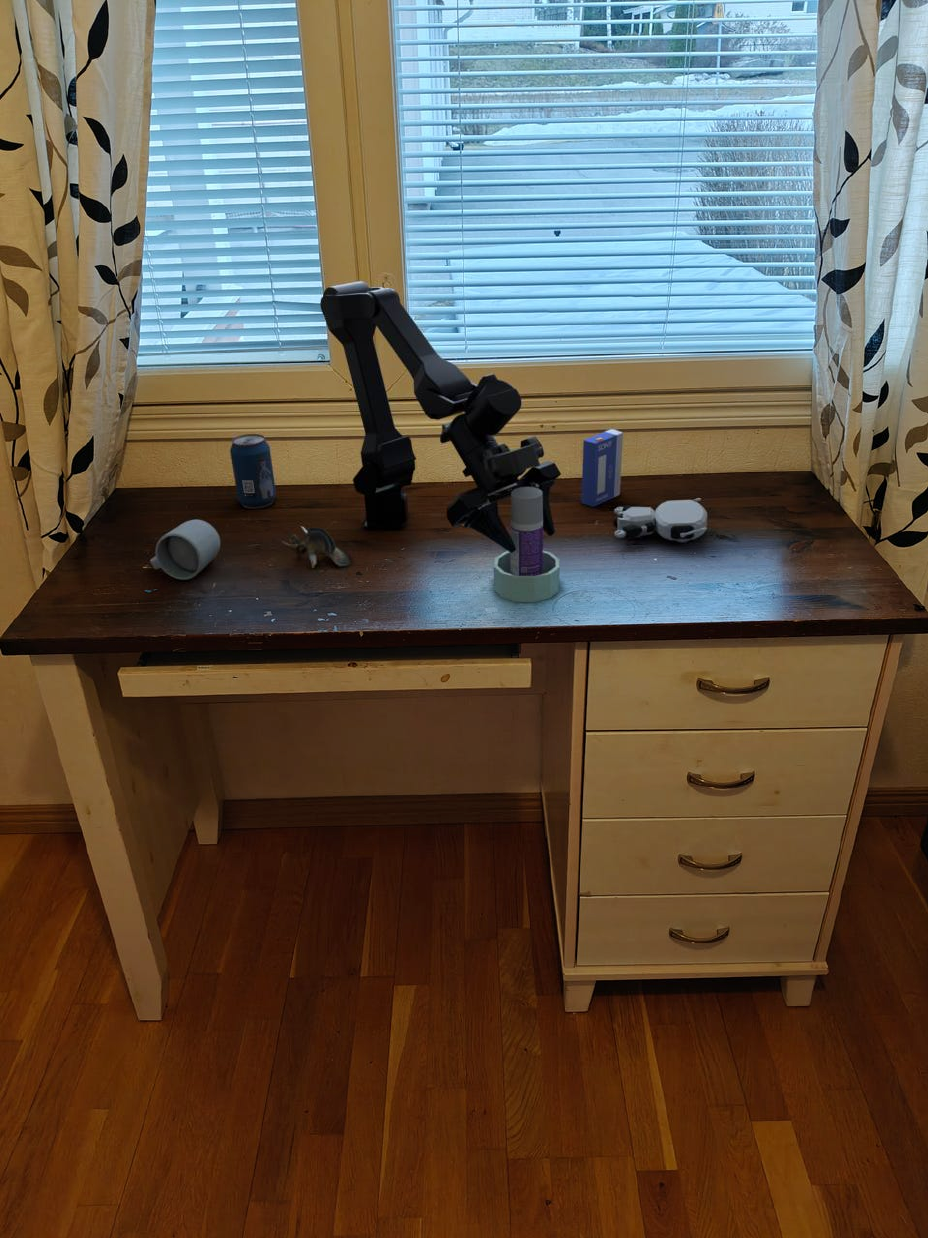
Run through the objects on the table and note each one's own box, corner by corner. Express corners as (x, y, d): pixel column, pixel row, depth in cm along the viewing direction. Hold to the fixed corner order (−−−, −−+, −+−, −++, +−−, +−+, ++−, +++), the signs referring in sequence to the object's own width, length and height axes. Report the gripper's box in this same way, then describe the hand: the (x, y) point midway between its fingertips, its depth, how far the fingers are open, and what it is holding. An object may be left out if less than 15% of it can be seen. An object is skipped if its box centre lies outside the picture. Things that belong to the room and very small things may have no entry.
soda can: (245, 494, 177) (236, 432, 171) (281, 495, 176) (273, 433, 170) (232, 509, 171) (222, 445, 165) (270, 510, 170) (261, 446, 164)
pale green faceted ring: (492, 601, 138) (491, 577, 136) (496, 571, 146) (496, 548, 144) (558, 602, 137) (559, 578, 135) (559, 572, 146) (559, 548, 144)
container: (546, 582, 143) (548, 489, 135) (535, 596, 139) (536, 500, 132) (518, 577, 145) (517, 484, 137) (506, 590, 141) (505, 496, 134)
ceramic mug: (227, 558, 153) (219, 514, 149) (204, 582, 146) (195, 536, 142) (167, 555, 155) (157, 511, 152) (142, 578, 148) (131, 532, 145)
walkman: (593, 507, 167) (596, 441, 161) (581, 503, 169) (583, 437, 163) (621, 494, 172) (624, 430, 166) (608, 490, 173) (612, 426, 167)
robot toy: (613, 553, 152) (709, 550, 150) (612, 528, 150) (710, 524, 148) (613, 522, 163) (703, 519, 160) (612, 498, 161) (704, 494, 158)
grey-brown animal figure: (281, 567, 147) (334, 562, 144) (280, 522, 148) (333, 516, 145) (304, 573, 154) (355, 568, 152) (303, 529, 155) (353, 524, 152)
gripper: (456, 438, 127) (515, 538, 125) (552, 407, 138) (608, 498, 136) (421, 479, 136) (476, 572, 134) (514, 446, 147) (566, 532, 145)
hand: (533, 542), depth 137 cm, fingers open, 8 cm apart
